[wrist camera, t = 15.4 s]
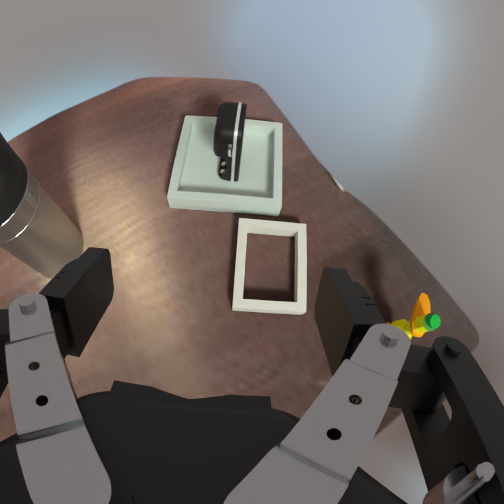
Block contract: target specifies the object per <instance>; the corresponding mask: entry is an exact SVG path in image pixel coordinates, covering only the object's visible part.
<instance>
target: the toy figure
mask: <svg viewBox="0 0 504 504" xmlns="http://www.w3.org/2000/svg"><path fill="white" fill-rule="evenodd" d="M386 323H387V324H389V325H393V326H395V327H398V328H400V329H401V330H403V331H404V332H405V333H406V334H407V335H408V336H409V338H410V339H411V337H412V335H413V336H415V337H422V335H423V334H424V333H425V332H427V331H433V330H434V329H435V328H438V327H439V325H440V318H439V316H438V315H435V314H433V313H430V301H429V298H428V296H427V294H424V293H422V294H421V296H420V297H419V298H418V299H417V300H416V303H415V305H414V309H413V312H412V317H411V320H410V321H409V322H408V321H406V320H405V319H402V320H397V321H394V322H392V323H390V322H386Z"/></svg>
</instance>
